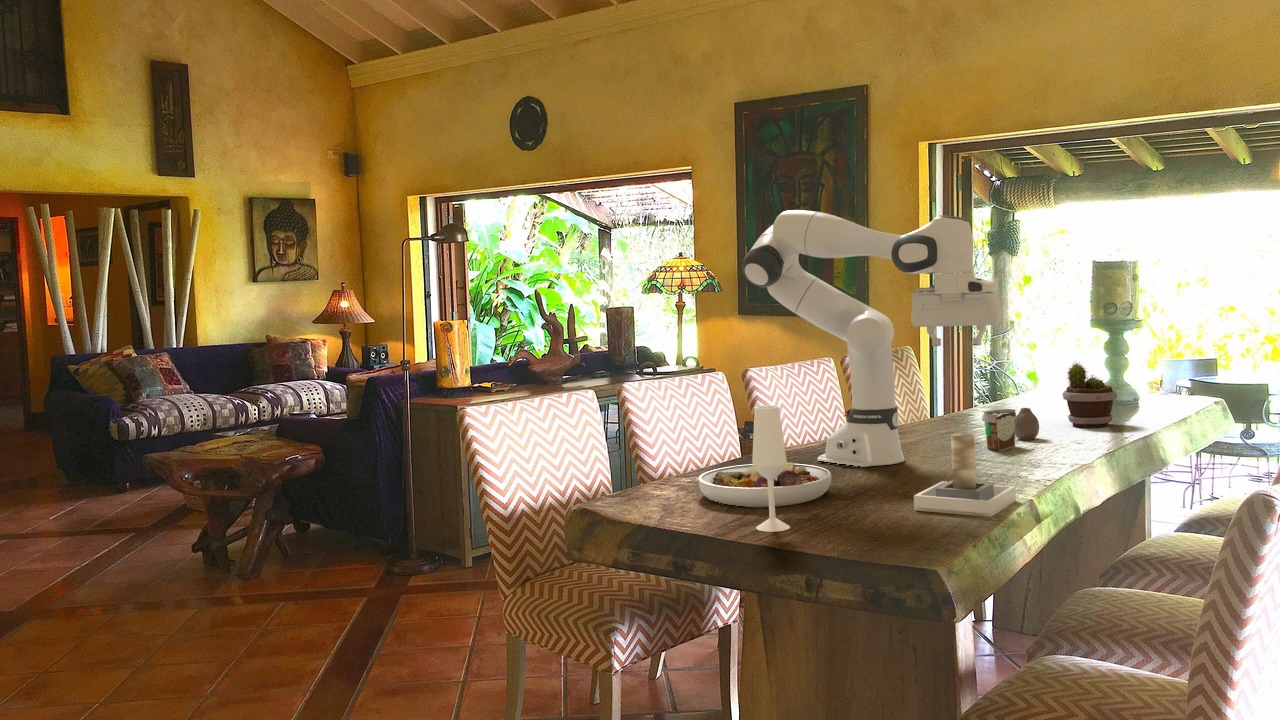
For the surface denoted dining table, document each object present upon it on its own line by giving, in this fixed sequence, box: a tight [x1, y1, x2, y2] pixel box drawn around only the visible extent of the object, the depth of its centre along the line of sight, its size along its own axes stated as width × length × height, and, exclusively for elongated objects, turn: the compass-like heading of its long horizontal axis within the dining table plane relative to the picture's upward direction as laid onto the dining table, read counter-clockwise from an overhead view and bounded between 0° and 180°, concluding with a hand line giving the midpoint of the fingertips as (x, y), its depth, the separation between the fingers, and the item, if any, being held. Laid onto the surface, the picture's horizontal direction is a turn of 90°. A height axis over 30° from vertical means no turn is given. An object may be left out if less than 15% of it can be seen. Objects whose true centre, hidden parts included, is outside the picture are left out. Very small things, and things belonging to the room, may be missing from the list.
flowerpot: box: [1061, 361, 1118, 429], centre depth 297 cm, size 14×15×20 cm
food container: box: [981, 408, 1017, 453], centre depth 269 cm, size 12×6×10 cm, turn 135°
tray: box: [913, 479, 1017, 518], centre depth 205 cm, size 16×16×4 cm
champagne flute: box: [751, 404, 791, 533], centre depth 196 cm, size 7×7×24 cm
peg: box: [950, 433, 977, 490], centre depth 205 cm, size 4×4×14 cm
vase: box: [1015, 407, 1040, 441], centre depth 281 cm, size 7×7×9 cm
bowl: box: [698, 461, 832, 508], centre depth 227 cm, size 30×30×8 cm
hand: (956, 345), depth 230 cm, fingers open, 8 cm apart
